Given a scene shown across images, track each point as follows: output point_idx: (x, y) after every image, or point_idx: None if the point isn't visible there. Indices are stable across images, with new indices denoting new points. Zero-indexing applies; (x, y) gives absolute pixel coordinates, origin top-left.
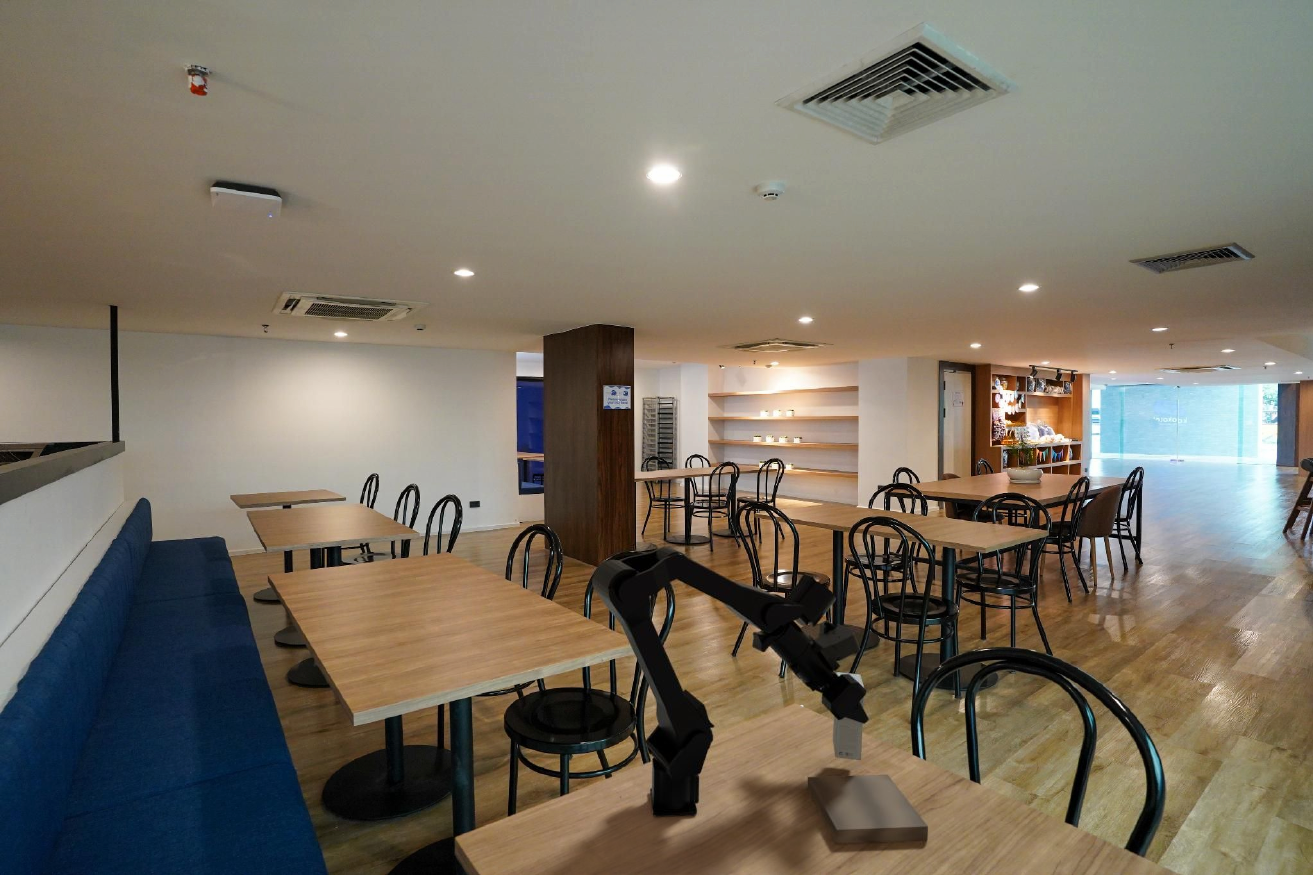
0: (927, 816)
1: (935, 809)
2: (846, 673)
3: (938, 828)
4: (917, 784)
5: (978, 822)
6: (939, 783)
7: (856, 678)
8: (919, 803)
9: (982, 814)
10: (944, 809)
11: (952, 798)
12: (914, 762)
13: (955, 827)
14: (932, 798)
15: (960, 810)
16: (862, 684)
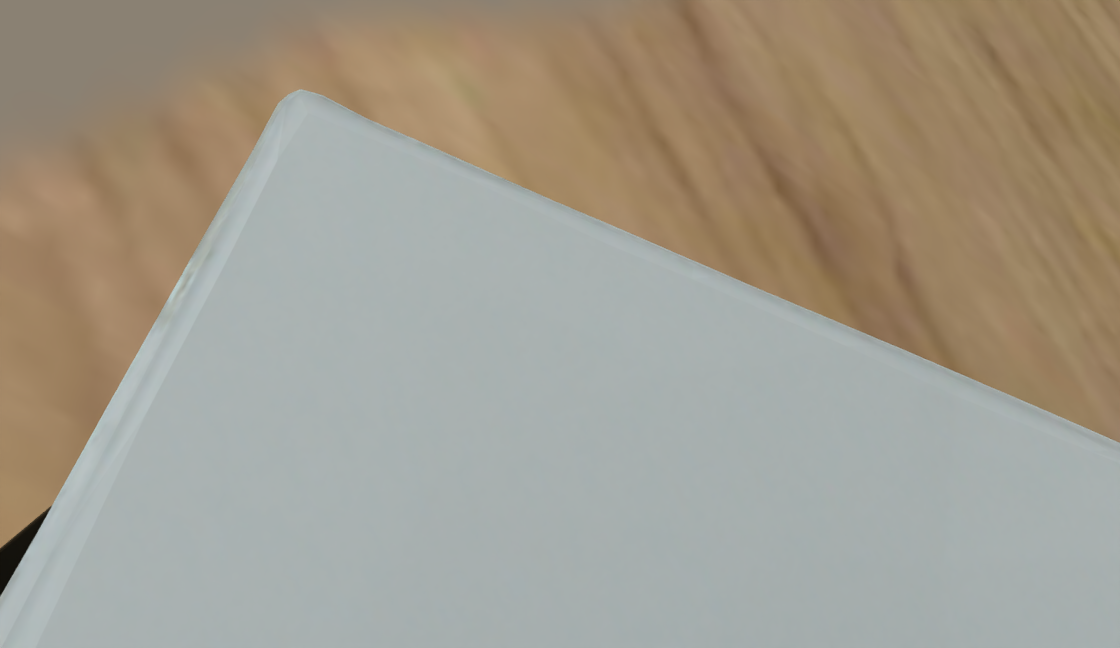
0: (972, 347)
1: (911, 259)
2: (94, 619)
3: (1067, 352)
4: (663, 201)
5: (1012, 113)
6: (664, 61)
7: (663, 422)
8: (856, 316)
9: (951, 45)
10: (911, 209)
11: (815, 94)
12: (399, 48)
13: (1055, 256)
14: (811, 206)
15: (920, 130)
16: (1104, 454)
